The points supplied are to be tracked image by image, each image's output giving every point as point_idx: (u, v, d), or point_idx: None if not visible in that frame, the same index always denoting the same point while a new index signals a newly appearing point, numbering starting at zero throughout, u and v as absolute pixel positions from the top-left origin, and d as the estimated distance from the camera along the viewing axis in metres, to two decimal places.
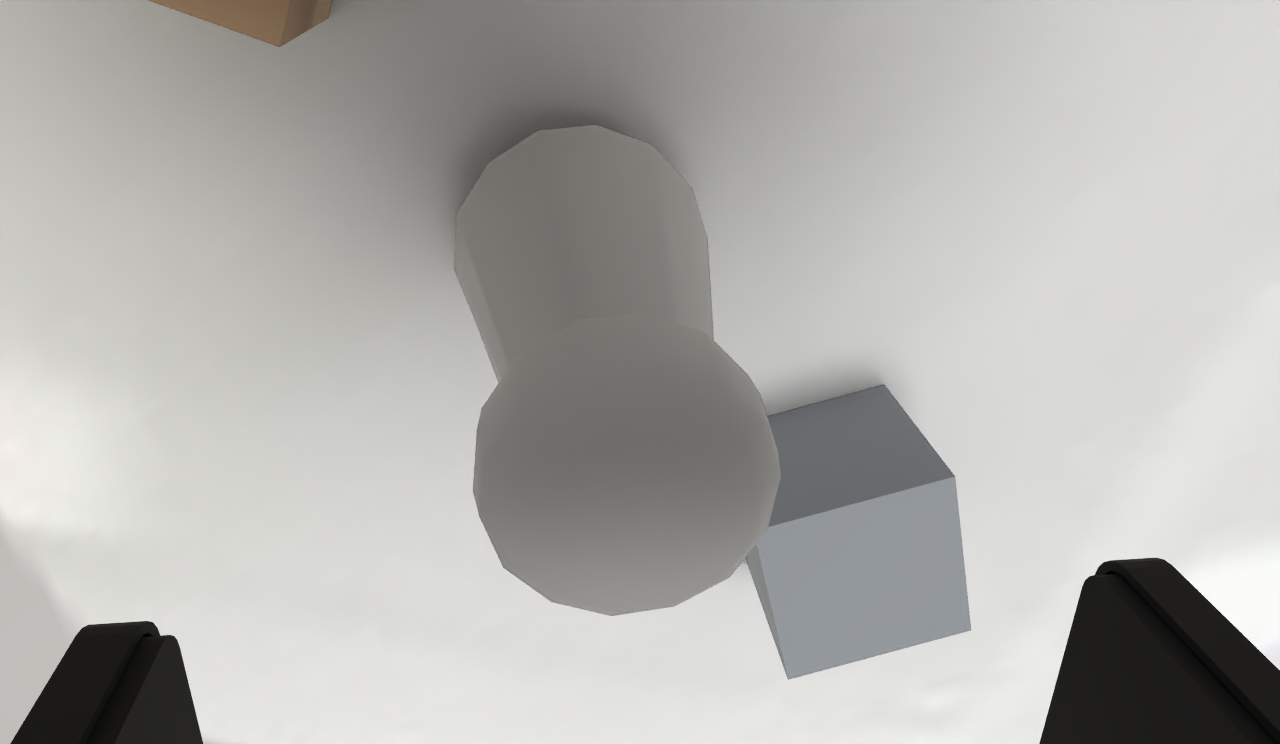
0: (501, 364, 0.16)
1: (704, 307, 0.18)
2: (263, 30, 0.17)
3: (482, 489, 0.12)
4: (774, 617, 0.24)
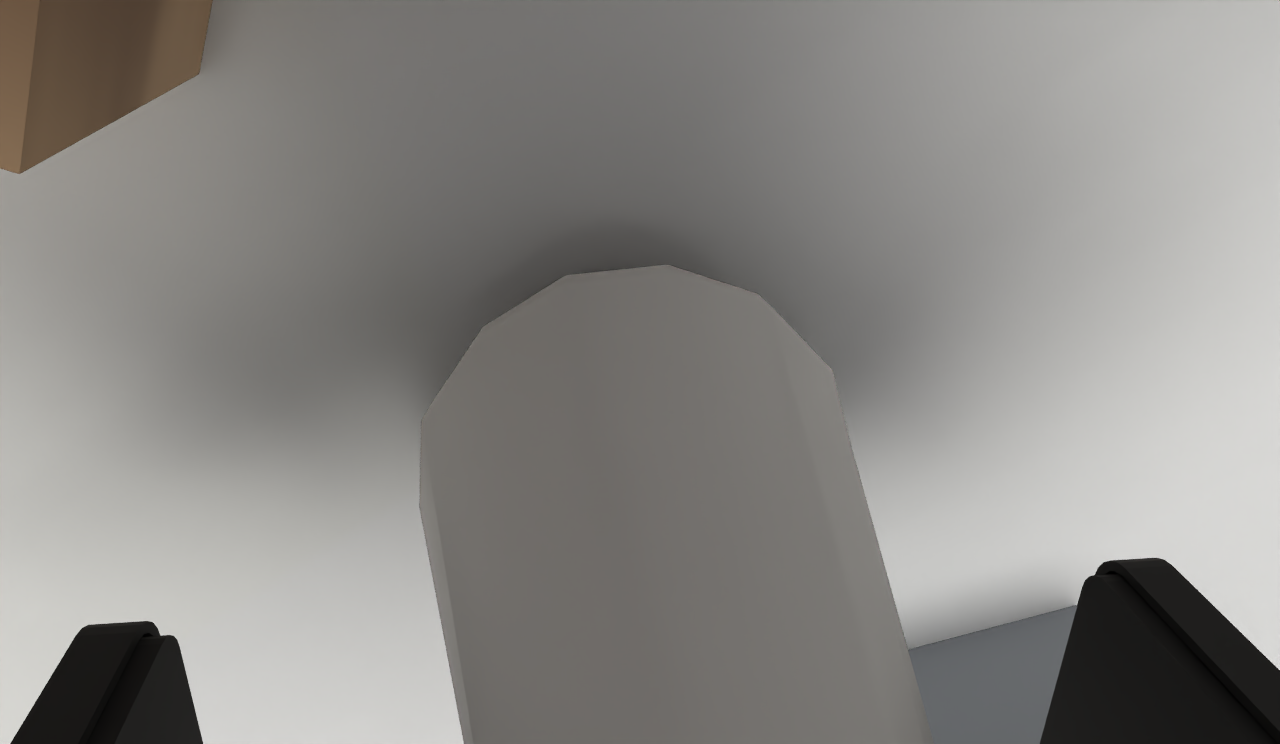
0: None
1: (913, 695, 0.09)
2: None
3: None
4: None
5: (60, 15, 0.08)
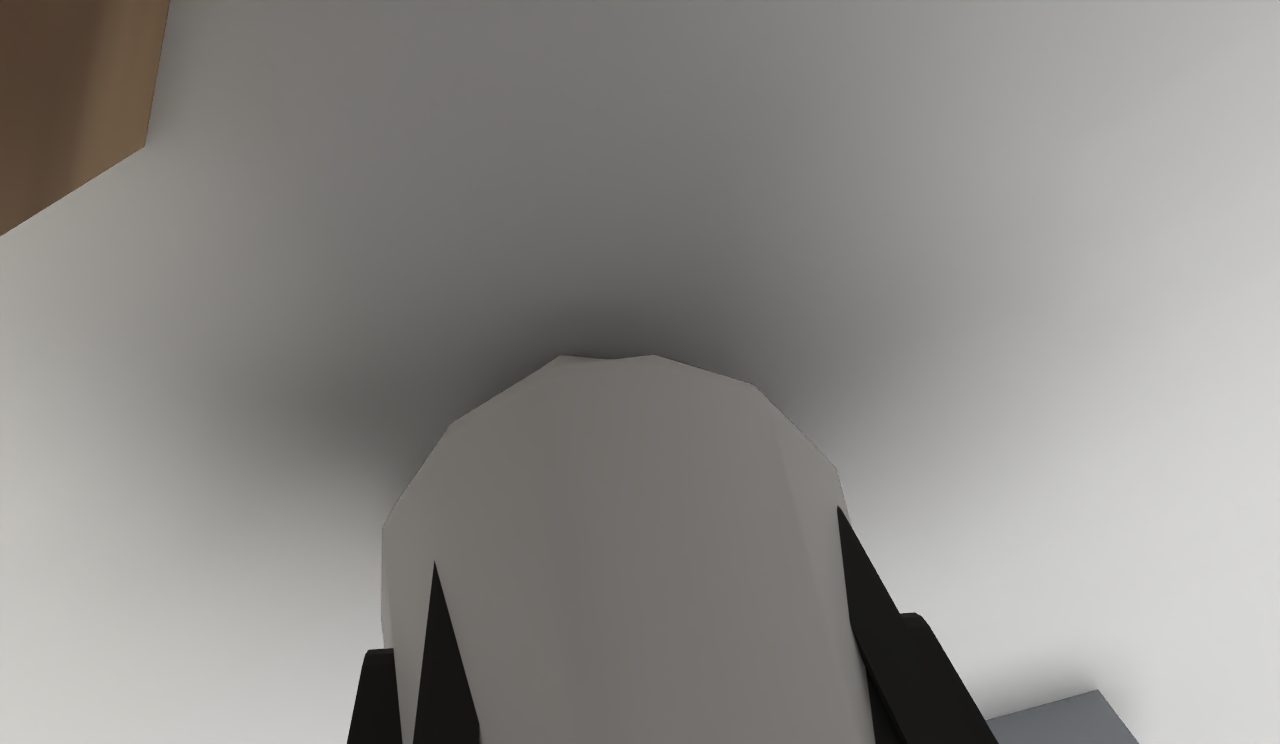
0: None
1: None
2: None
3: None
4: None
5: None
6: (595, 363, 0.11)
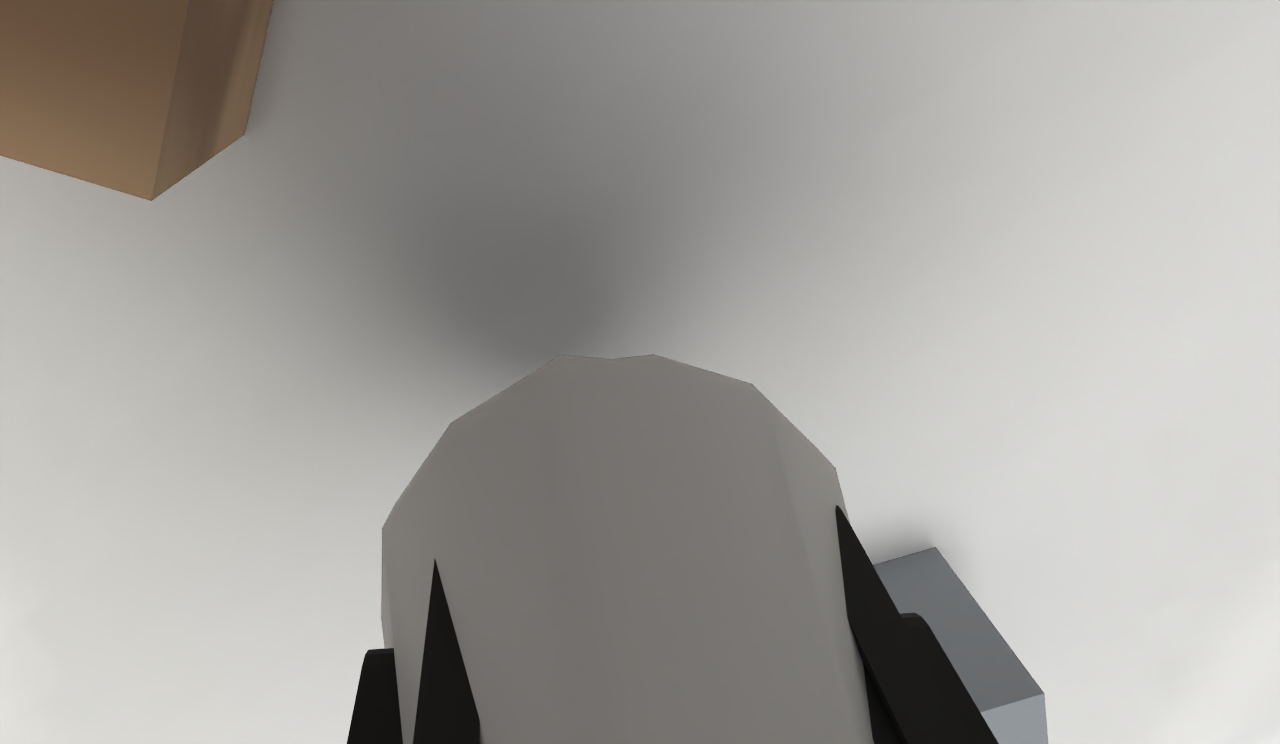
0: None
1: None
2: (127, 179, 0.12)
3: None
4: None
5: (179, 101, 0.12)
6: (595, 363, 0.11)
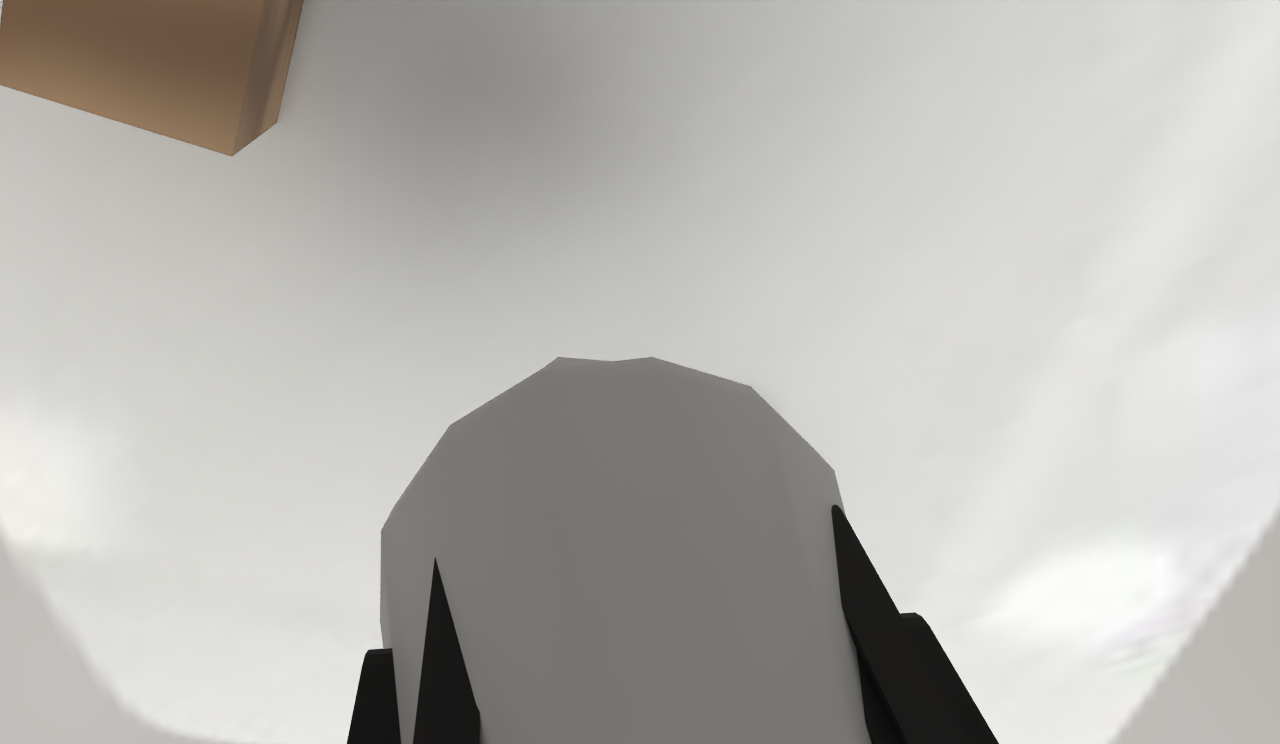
0: None
1: None
2: (219, 144, 0.22)
3: None
4: None
5: (247, 101, 0.22)
6: (593, 365, 0.11)
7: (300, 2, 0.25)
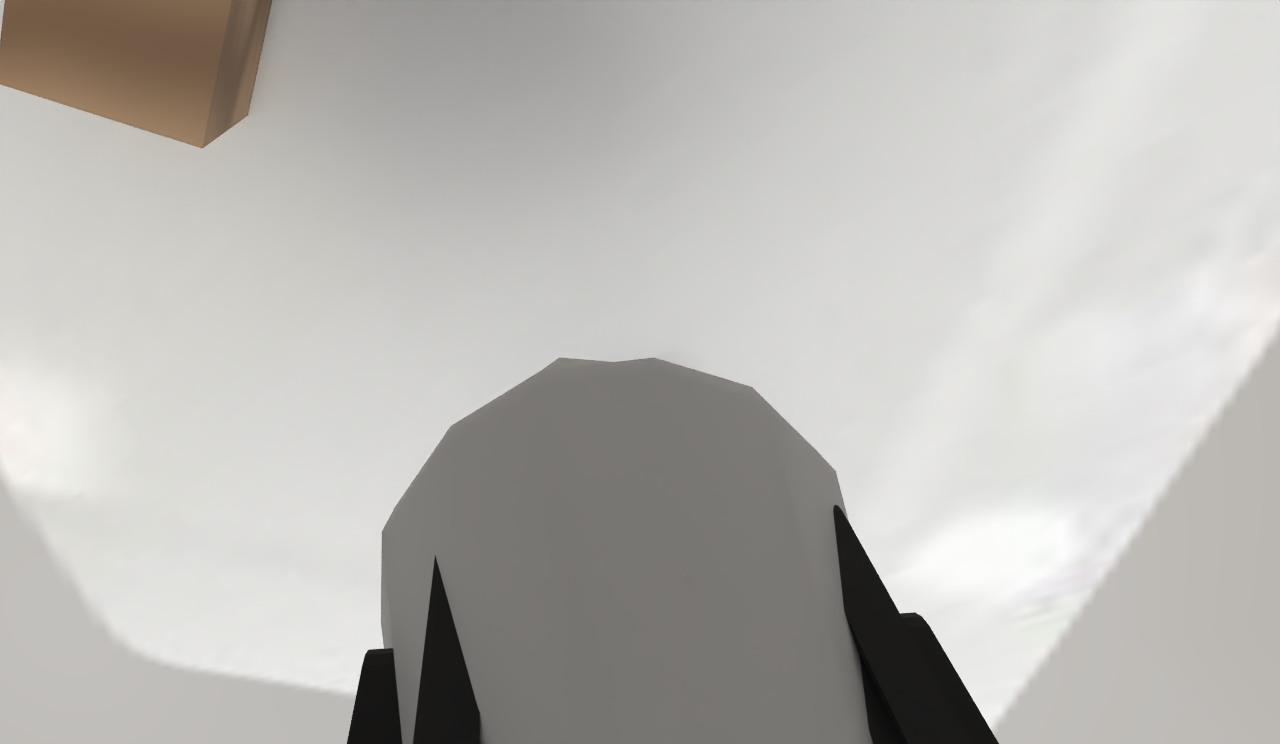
0: None
1: None
2: (191, 138, 0.25)
3: None
4: None
5: (215, 100, 0.25)
6: (595, 366, 0.11)
7: (267, 9, 0.28)
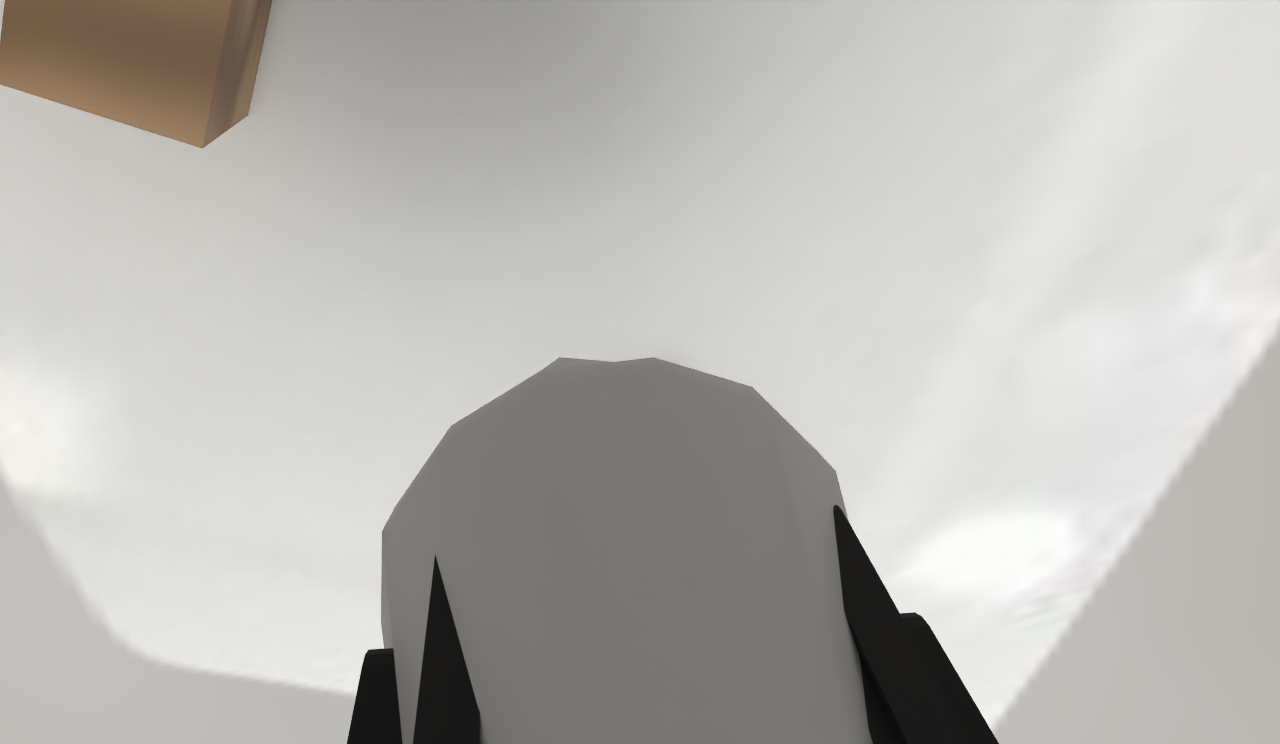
0: None
1: None
2: (191, 137, 0.25)
3: None
4: None
5: (215, 100, 0.25)
6: (595, 366, 0.11)
7: (267, 9, 0.28)
